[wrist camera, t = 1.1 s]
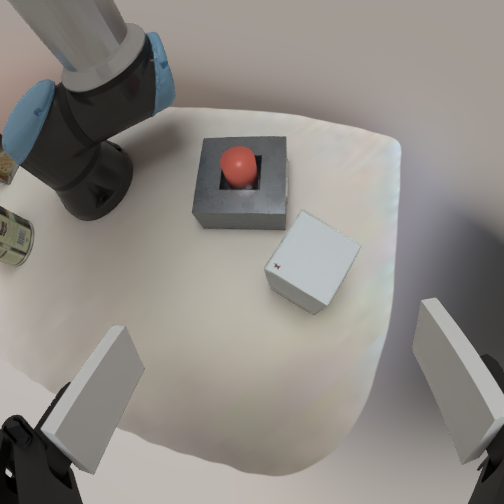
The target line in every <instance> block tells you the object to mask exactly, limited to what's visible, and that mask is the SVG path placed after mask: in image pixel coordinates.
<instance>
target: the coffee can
mask: <svg viewBox="0 0 504 504" xmlns="http://www.w3.org/2000/svg"><path fill="white" fill-rule="evenodd" d="M33 240H34V230H33V226H32V224H31V223H30V222H29V221H28V220H25V219H23V218H21V217H19V216H17V215H16V214H14V213H12V212H10V211H8V210H6V209H5V208H3V207H1V206H0V261H2V262H5V263H8V264H11V265H13V266H19V265H21V264H22V263H23V262H24V261H25V260H26V259H27V257H28V255H29V254H30V251H31V248H32V245H33Z"/></svg>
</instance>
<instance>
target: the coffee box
mask: <svg viewBox="0 0 504 504" xmlns="http://www.w3.org/2000/svg"><path fill="white" fill-rule="evenodd" d="M2 136H3V135H1V134H0V182H2V183H6V184H10V183H11V181H12V179H13V177H14V175H15V173H16V171H17V169H18V167H19V165H18V164H16V163H15V161H14V160H13V159H12V158H11V157H10V156H9V155H8V154H7V153H6V152H5V151H4V149H3V146H2Z"/></svg>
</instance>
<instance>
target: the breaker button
mask: <svg viewBox="0 0 504 504" xmlns="http://www.w3.org/2000/svg"><path fill="white" fill-rule="evenodd" d="M220 165H221V168H222V170H223V173H224V175H225V178H226V181H227V183H228V186H229V187H230V189H232V190H253V189H254V188H255V187H256V185H257V184H258V180H259V177H258V171H257V166H256V161H255V156H254V153H253V152H252V151H251V150H250V149H249V148H247V147H243V146H235V147H232V148H230V149H228V150H226V151H225V152H224V153H223V155H222V157H221V159H220Z"/></svg>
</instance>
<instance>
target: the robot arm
mask: <svg viewBox="0 0 504 504" xmlns="http://www.w3.org/2000/svg"><path fill="white" fill-rule="evenodd" d="M8 1H9V2H10V4H11V5H12V6H13V7H14V8H15V10H16V11H17V12H18V13H19V14H20V16H21V17H22V18H23V19H24V20H25V22H26V23H27V24H28V25H29V26H30V28H31V29H32V30H33V31H34V32H35V33H36V35H38V37H39V38H40V39H41V40H42V42H43V43H44V44H45V45H46V46H47V47H48V49H49V50H50V51H51V52H52V53H53V54H54V55H55V57H56V58H57V59H58V60H59V61H60V62H61V64H62V65H63V66H64V67H63V71H62V76H61V79H62V82H61V83H59V84H58V85H55V82H54V81H51V80H49V79H45V80H43V81H40V82H38V83H37V84H35V85H34V86H33V87H32V88H31V89H30V90H29V91H28V92H27V93H26V94H25V95H24V96H23V97H22V99H21V100H20V101H19V102H18V104H17V105H16V107H15V108H14V110H13V111H12V113H11V115H10V117H9V118H8V121H7V123H6V126H5V128H4V131H3V136H2V146H3V149H4V151H5V152H6V153H7V154H8V155H9V156H10V157H11V158H12V159H13V160H14V161H15V163H16V164H18V165H20V166H21V167H23V168H24V169H25V170H27V171H28V172H30V173H31V174H32V175H34V176H35V177H37V178H38V179H39V180H41V181H42V182H44V183H45V184H47V185H48V186H49V187H51V188H52V189H54V190H55V191H56V193H57V195H58V196H59V198H60V199H61V201H62V202H63V204H64V206H65V208H66V209H67V210H68V211H69V212H70V213H71V214H73V215H74V216H76V217H77V218H79V219H82V220H94V219H97V218H100V217H102V216H104V215H106V214H107V213H109V212H110V211H111V210H112V209H113V208H114V207H115V206H116V205H117V204H118V203H119V202H120V201H121V199H122V198H123V197H124V195H125V193H126V192H127V190H128V187H129V185H130V182H131V178H132V171H133V168H132V162H131V159H130V157H129V156H128V154H127V153H126V152H125V151H124V150H123V149H122V148H121V147H120V146H119V145H117V144H115V143H113V142H110V141H108V140H107V139H109V138H110V137H112V136H114V135H116V134H118V133H120V132H122V131H124V130H126V129H127V128H129V127H131V126H133V125H135V124H137V123H139V122H142V121H144V120H146V119H148V118H150V117H153V116H155V114H156V113H158V112H160V111H162V110H164V109H166V108H167V107H169V106H171V105H172V104H173V102H174V100H175V97H176V91H175V86H174V81H173V78H172V73H171V70H170V67H169V65H168V61H167V57H166V53H165V50H164V47H163V44H162V42H161V39H160V37H159V35H158V34H157V33H156V32H151V33H146V34H145V32H144V31H143V29H142V28H141V27H140V26H139V25H136V24H132V23H125V22H124V20H123V18H122V16H121V14H120V12H119V10H118V8H117V6H116V4H115V3H114V1H113V0H8ZM412 350H413V352H414V354H415V356H416V358H417V360H418V362H419V364H420V366H421V368H422V370H423V373H424V375H425V377H426V379H427V381H428V383H429V386H430V388H431V390H432V392H433V394H434V397H435V399H436V401H437V403H438V406H439V408H440V410H441V413H442V415H443V418H444V420H445V422H446V425H447V427H448V430H449V432H450V435H451V437H452V440H453V442H454V445H455V448H456V451H457V453H458V456H459V459H460V462H461V465H463V464H466V463H468V462H470V461H473V460H475V459H477V458H479V457H480V456H481V455H482V453H483V452H484V451H485V450H487V453H488V456H487V458H486V459H485V460H484V461H483V462H482V463H481V464H480V466H479V467H478V469H477V470H478V471H479V470H480V469H481V468H482V467H483V469H482V471H481V474H480V476H479V479H478V481H477V484H476V486H475V489H474V491H473V494H472V496H471V498H470V500H469V502H468V504H504V372H503V369H502V368H501V366H500V365H499V363H498V362H497V361H496V360H495V359H493V358H492V357H491V356H489V355H488V354H485V355H482V356H478V354H477V352H476V351H475V350H474V348H473V346H472V345H471V344H470V342H469V341H468V340H467V338H466V337H465V335H464V334H463V332H462V331H461V330H460V329H459V327H458V326H457V324H456V323H455V322H454V320H453V319H452V318H451V317H450V315H449V314H448V313H447V311H446V310H445V309H444V307H443V306H442V305H441V303H440V302H439V301H438V300H437V298H431V299H426V300H421V304H420V311H419V317H418V322H417V328H416V333H415V339H414V343H413V348H412ZM144 369H145V368H144V366H143V364H142V362H141V360H140V358H139V355H138V353H137V351H136V349H135V347H134V344H133V342H132V340H131V337H130V335H129V333H128V330H127V328H126V326H116V325H113V326H112V327H111V328H110V330H109V331H108V332H107V334H106V335H105V336H104V338H103V339H102V340H101V342H100V343H99V344H98V346H97V347H96V348H95V350H94V351H93V353H92V354H91V355H90V357H89V358H88V359H87V361H86V362H85V364H84V365H83V366H82V368H81V369H80V371H79V372H78V374H77V375H76V376H75V378H74V379H73V381H72V382H69V383H67V384H66V385H65V386H64V387H63V388H61V390H60V391H59V392H58V394H57V395H56V397H55V399H54V400H53V401H52V403H51V406H49V407H48V409H47V410H46V412H45V413H44V415H43V416H42V418H41V419H40V421H39V422H38V424H37V425H36V427H35V428H34V430H33V428H32V427H31V426H30V425H29V424H28V423H27V421H26V420H25V419H24V418H23V417H22V416H20V415H13V416H11V417H9V418H8V419H7V420H6V421H5V422H4V424H3V425H2V429H0V504H83V503H82V500H81V497H80V493H79V490H78V487H77V483H76V480H75V476H74V473H73V471H72V469H71V468H70V465H71V463H73V464H74V465H76V467H77V468H79V470H82V471H85V472H87V473H90V474H93V475H94V473H95V471H96V469H97V467H98V465H99V462H100V460H101V458H102V456H103V454H104V452H105V449H106V447H107V445H108V443H109V441H110V439H111V436H112V435H113V432H114V430H115V428H116V426H117V424H118V422H119V420H120V418H121V416H122V414H123V412H124V410H125V407H126V405H127V403H128V401H129V399H130V397H131V395H132V393H133V391H134V389H135V387H136V385H137V383H138V381H139V379H140V377H141V375H142V373H143V371H144ZM6 468H7V469H8V470H9V471H10V472H11V473H12V476H11V478H10V477H9V476H8V475H6V474H5V471H6Z"/></svg>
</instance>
